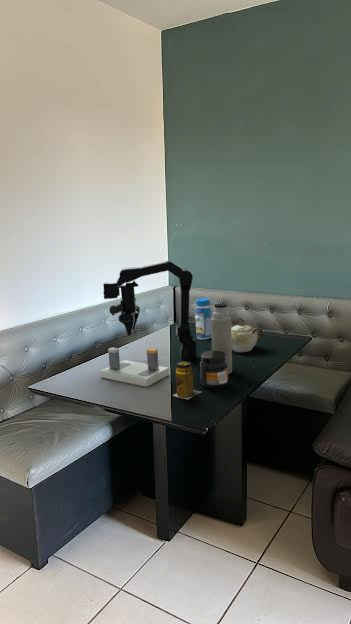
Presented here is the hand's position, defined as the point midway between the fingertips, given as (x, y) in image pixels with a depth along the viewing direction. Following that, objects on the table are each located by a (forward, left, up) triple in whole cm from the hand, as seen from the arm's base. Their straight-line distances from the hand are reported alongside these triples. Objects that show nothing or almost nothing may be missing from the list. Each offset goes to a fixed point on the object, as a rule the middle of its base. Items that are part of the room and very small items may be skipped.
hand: (131, 332), depth 216 cm
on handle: (+7, +17, -10) cm, 21 cm away
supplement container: (-32, +33, -14) cm, 48 cm away
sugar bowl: (-50, -9, -14) cm, 53 cm away
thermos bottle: (-37, +19, -14) cm, 44 cm away
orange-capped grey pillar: (-9, +21, -10) cm, 25 cm away
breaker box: (-1, +18, -14) cm, 23 cm away
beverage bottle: (-35, -34, -14) cm, 51 cm away
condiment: (-21, +41, -14) cm, 48 cm away
